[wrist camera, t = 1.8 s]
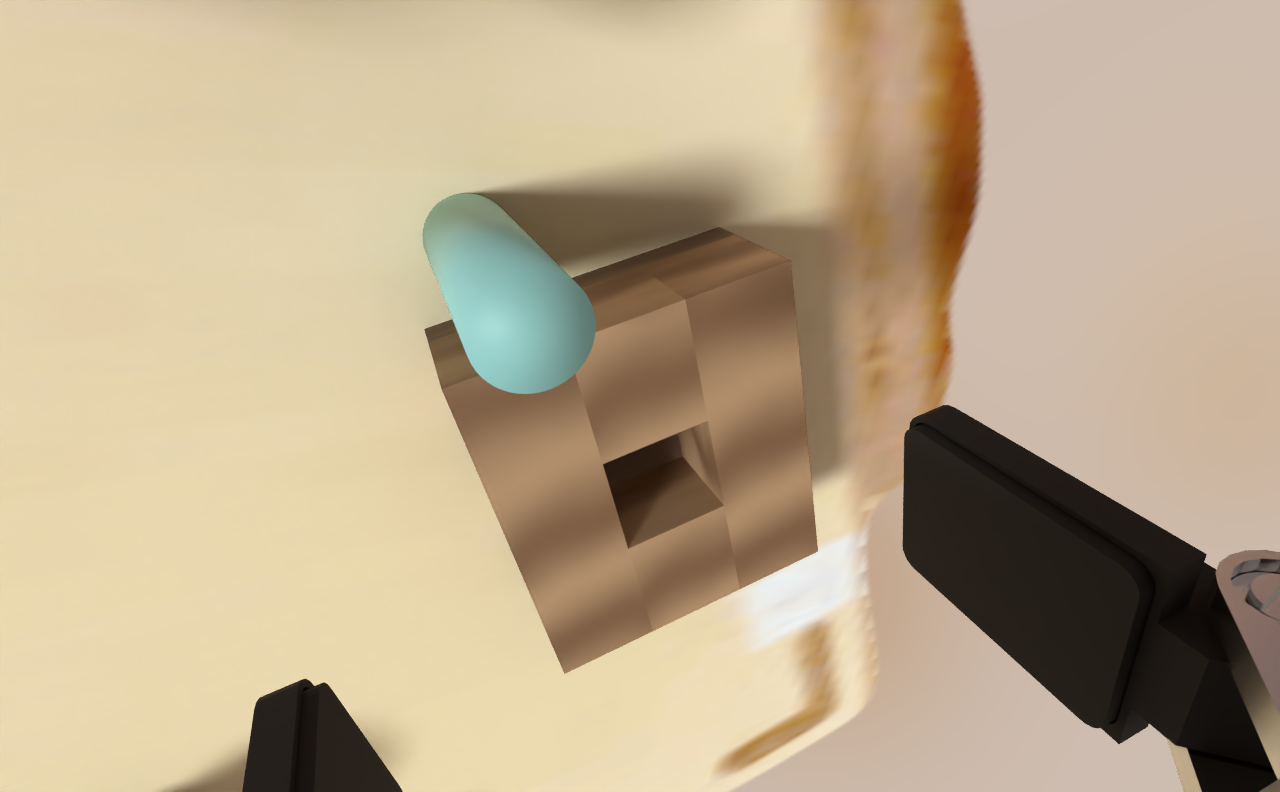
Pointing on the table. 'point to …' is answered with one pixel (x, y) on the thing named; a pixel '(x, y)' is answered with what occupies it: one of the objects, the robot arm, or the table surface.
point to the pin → (507, 297)
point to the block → (650, 445)
